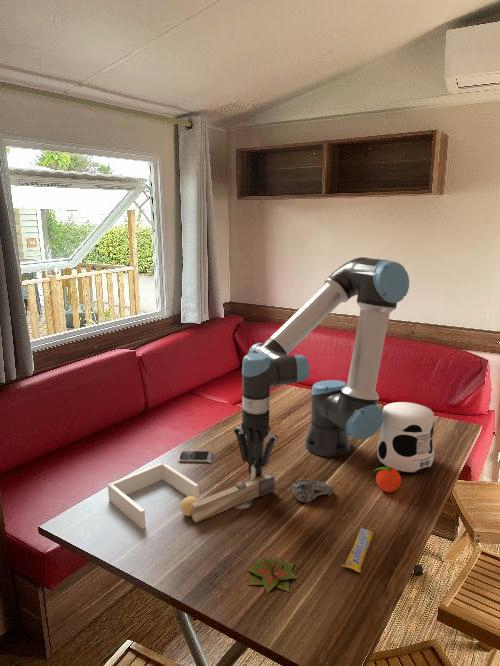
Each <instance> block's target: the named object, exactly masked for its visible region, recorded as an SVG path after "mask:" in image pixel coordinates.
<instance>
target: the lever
mask: <svg viewBox="0 0 500 666" xmlns="http://www.w3.org/2000/svg"><path fill="white" fill-rule="evenodd" d="M275 479H276V477H275V476H274V475H272V474H271V473H270V472H268V471H266V472H264V473H262V474H261V475H260V476H259V477H258V476H256V477H254V479H252V480H251V479H250V480H247V481H245V482H244V481H237V482H236V483H235V486H233V487H230V488H227V489H225V490H221V491H220V492H218V493H215V494H213V495H209V496H207V497H204V498H202V499H200V500H199V501H197V502H194V503H192V504H191V506H192V516H191V520H192V521H193V522H194V523H199V522H201V521H203V520H205V519H208V518H211V517H213V516H215V515H218V514H220V513H222V512H224V511H226V510H227V511H228V510H229V509H231V508H234V506H237V505H239V504H241V503H244V502H246V501H248V500H253V499H255V498H258V497H260V498H261V497H264V496H266V495H268V494H271V493H273V492H275V486H276V485H275V483H276V482H275V481H276V480H275Z"/></svg>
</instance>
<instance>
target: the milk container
mask: <svg viewBox="0 0 500 666" xmlns="http://www.w3.org/2000/svg"><path fill="white" fill-rule="evenodd" d="M382 412H383V414H384V419H383V423H382V425H381V427H380V434H379V437H378V441H377V443H376V455H377V458H378V460H379V462H380V463H381V464H382V465H384V467H392V468H394V469H395V470H397V471H398V473H402V474H418V473H422V472H425V471H427V470H429V469H430V468H431V466H432V465H433V463H434V459H435V447H434V442H433V441H434V439H433V437H434V436H433V435H434V428H435V414H434V411H432V409H430V408H429V407H427V406H425V405H422V404H419V403H415V402H414V403H413V402H408V401H407V402H406V401H397V402H396V401H395V402H391V403H387V404H386V405H384V406H383V408H382Z"/></svg>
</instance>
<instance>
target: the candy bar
mask: <svg viewBox="0 0 500 666" xmlns="http://www.w3.org/2000/svg"><path fill="white" fill-rule="evenodd" d="M375 533H376V531H375V528H372V527H369V526H367V527H366V528H365V526H364V525H359V531H358V535H357V537H356V539H355V541H354V543H353V546H352V547H351V548H352V549H351V550H350V552H349V555H347V559H346V561H345V562H344V564H341V567H343V568H347V569H351V570H353V571H354V572H357V573H361V572H362V571H361V570H362V567H363V564H364V560H365V558H366V555H367V553H368V550H369V547H370V545H371V542H372V539H373V537H374V535H375Z"/></svg>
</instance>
